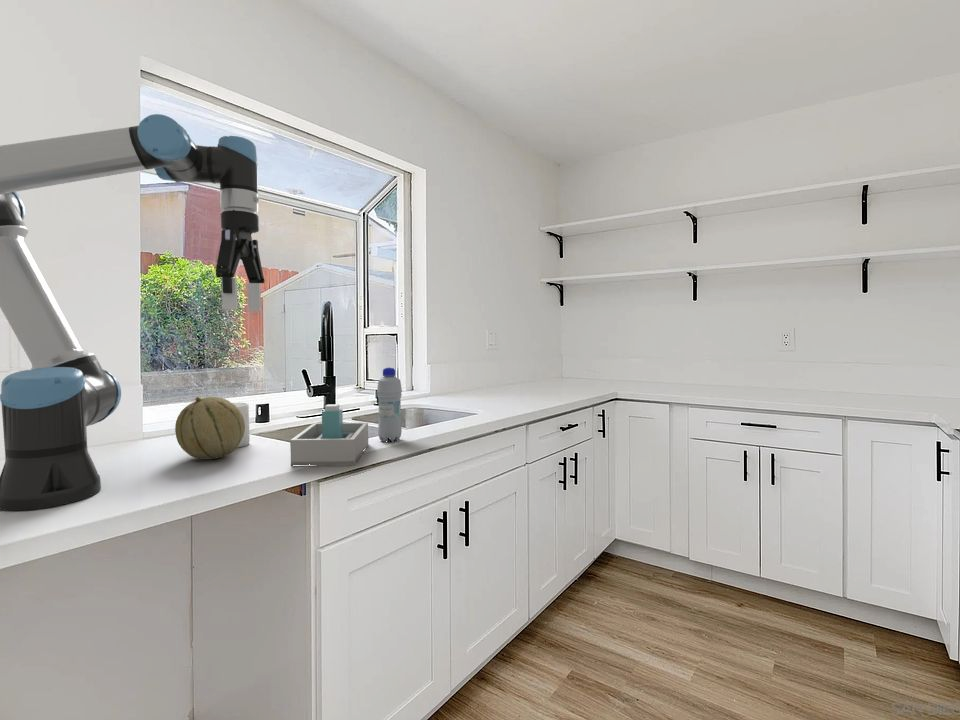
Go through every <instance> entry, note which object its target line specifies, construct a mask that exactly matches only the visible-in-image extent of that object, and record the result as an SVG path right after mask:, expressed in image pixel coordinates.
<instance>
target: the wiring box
mask: <svg viewBox="0 0 960 720" xmlns="http://www.w3.org/2000/svg"><path fill="white" fill-rule="evenodd" d="M289 443H290V445H289V446H290V449H289V450H290V467H291V466H293V465H309V464H310V465H317V466H316V467H350V466H351V467H353V466H355V465H356V464H357V463H358V461H359V460H360V458H361V456H362V455H363V454H362V452H363V450H364V449H365V448H366V447H367V448H368V446H369V422H343V439H322V422H313V423H312V424H311V425H309V426H308V427H307V428H304V429H303V430H302V431H301V432H299V433H298V434H296V435H295V436H293V438H291V439H290V441H289ZM367 445H368V446H367ZM367 448H366V449H367ZM366 449H365V450H366ZM363 453H364V452H363ZM361 454H362V455H361Z"/></svg>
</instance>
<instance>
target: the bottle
mask: <svg viewBox="0 0 960 720" xmlns="http://www.w3.org/2000/svg"><path fill="white" fill-rule="evenodd" d="M382 376H383V377H381V378H379V379H378V380H377V390H376V392H377V393H376V394H377V396H376V397H377V398H378V430H377V433H378V438H379V440H380V441H381V442H385V441H387V442H388V441H389V439H390V442H391V441H393V442H395V441H396V440H398V441H400V439H401V436H402V431H403V430H402V419H401V418H402V417H401V414H402V413H401V410H402V409H401V402H402V401H401V398H402V396H403V395H402V392H403V390H402V383H401V379H400V378H398V377H396V369H395V368H394V367H385V368H383V370H382ZM388 438H389V439H388ZM383 440H384V441H383Z"/></svg>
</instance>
